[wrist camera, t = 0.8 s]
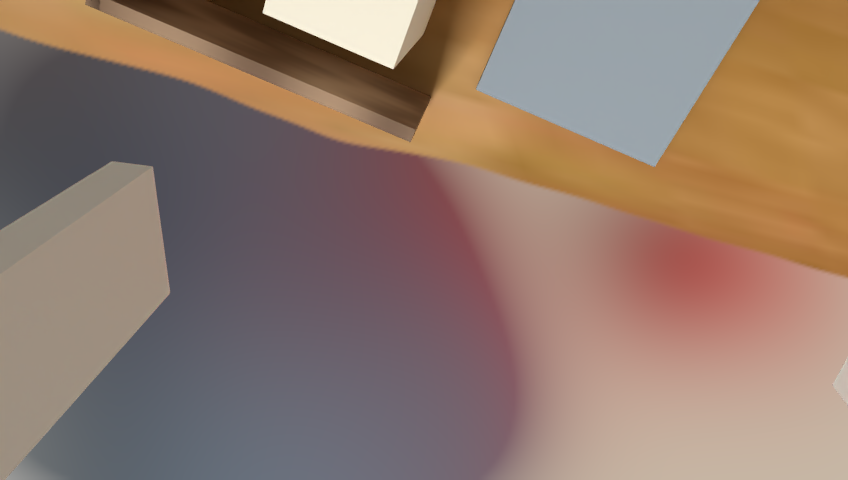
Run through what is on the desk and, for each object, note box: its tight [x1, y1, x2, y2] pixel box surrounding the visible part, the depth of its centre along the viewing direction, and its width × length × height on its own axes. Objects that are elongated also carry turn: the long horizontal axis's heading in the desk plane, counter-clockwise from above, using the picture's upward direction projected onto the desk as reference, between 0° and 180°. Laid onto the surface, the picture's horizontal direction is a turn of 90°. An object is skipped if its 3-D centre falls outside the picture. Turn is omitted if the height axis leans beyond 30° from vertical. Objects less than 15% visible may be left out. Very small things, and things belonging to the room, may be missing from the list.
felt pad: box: [476, 0, 759, 167], centre depth 28 cm, size 10×10×1 cm
